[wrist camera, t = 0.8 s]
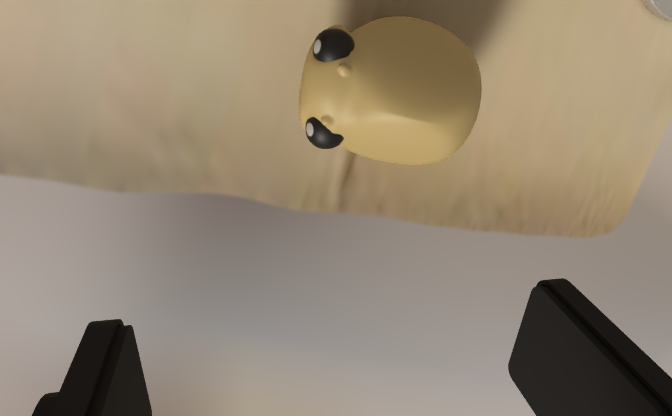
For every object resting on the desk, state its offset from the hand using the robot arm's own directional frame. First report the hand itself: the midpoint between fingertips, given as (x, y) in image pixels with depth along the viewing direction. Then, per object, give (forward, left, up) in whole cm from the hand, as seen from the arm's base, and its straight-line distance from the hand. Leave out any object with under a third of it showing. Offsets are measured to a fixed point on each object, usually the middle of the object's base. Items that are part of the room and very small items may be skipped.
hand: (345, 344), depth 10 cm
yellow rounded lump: (-7, -2, -27) cm, 27 cm away
